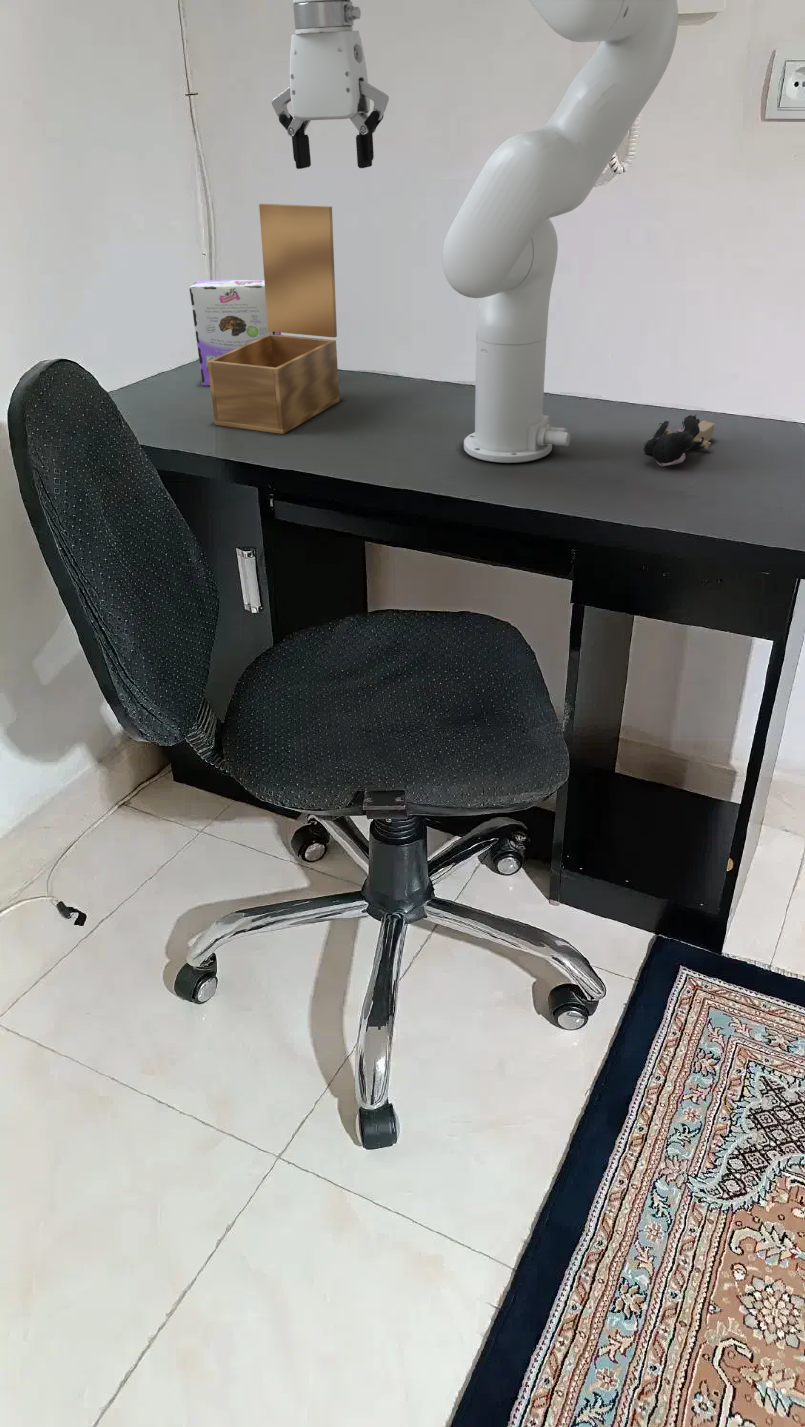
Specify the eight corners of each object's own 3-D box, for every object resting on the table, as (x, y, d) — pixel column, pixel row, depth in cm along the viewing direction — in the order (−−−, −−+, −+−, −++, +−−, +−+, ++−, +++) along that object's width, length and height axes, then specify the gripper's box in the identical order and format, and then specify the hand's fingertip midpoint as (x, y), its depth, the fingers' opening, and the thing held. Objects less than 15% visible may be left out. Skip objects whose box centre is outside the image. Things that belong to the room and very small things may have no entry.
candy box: (286, 377, 184) (277, 277, 175) (279, 386, 179) (270, 285, 170) (209, 376, 185) (197, 278, 176) (201, 386, 180) (188, 285, 171)
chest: (283, 434, 157) (277, 369, 152) (214, 424, 162) (206, 361, 157) (339, 401, 171) (336, 340, 166) (274, 393, 176) (269, 333, 170)
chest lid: (329, 207, 155) (346, 203, 159) (258, 204, 160) (276, 201, 164) (334, 337, 165) (350, 331, 169) (267, 331, 170) (284, 325, 174)
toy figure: (668, 436, 153) (635, 463, 142) (679, 393, 150) (646, 418, 138) (715, 449, 151) (686, 477, 139) (727, 406, 147) (698, 432, 136)
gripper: (395, 16, 135) (401, 164, 145) (280, 24, 142) (293, 165, 151) (370, 15, 130) (378, 170, 139) (251, 24, 136) (266, 171, 145)
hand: (334, 167), depth 145 cm, fingers open, 9 cm apart
